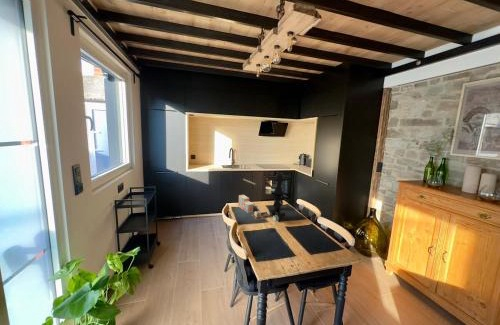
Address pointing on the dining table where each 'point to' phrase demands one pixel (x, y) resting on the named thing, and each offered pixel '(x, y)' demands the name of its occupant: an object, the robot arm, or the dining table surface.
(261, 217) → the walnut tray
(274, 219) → the sage block
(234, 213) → the dining table surface
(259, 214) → the maple block
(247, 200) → the stack of blocks
